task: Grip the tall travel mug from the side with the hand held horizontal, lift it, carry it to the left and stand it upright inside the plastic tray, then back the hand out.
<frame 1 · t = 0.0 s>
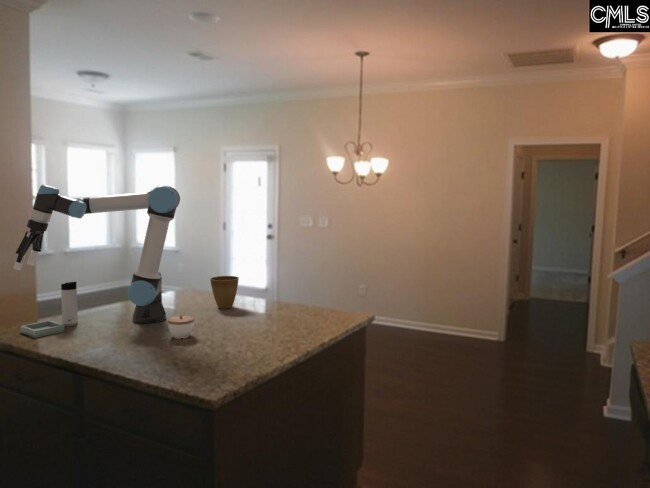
hand: (23, 267, 209), 28 cm above the table, tool tilted 20°, fingers open, 13 cm apart
lidded jar: (181, 337, 207), on the table
tray: (42, 331, 210), on the table
plant pot: (224, 307, 261), on the table
travel mug: (70, 325, 222), on the table
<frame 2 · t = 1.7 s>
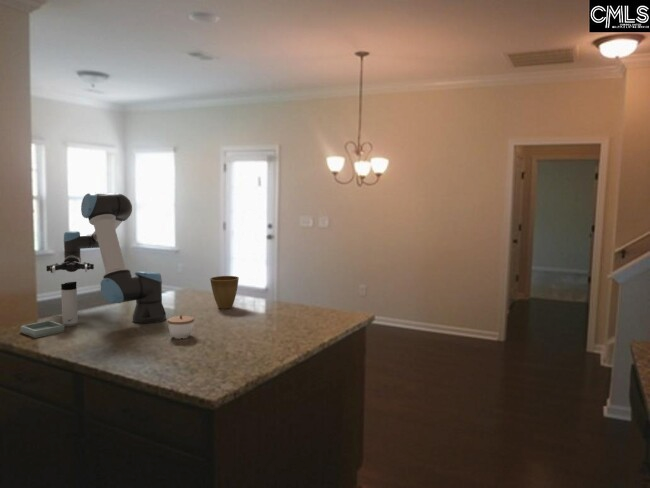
hand: (69, 269, 228), 24 cm above the table, tool horizontal, fingers open, 13 cm apart
nothing on the table moved.
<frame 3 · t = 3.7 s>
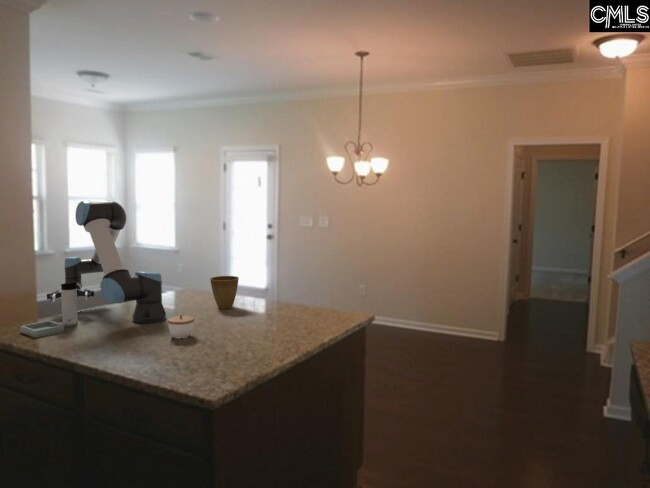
hand: (69, 298, 227), 11 cm above the table, tool horizontal, fingers open, 13 cm apart
nothing on the table moved.
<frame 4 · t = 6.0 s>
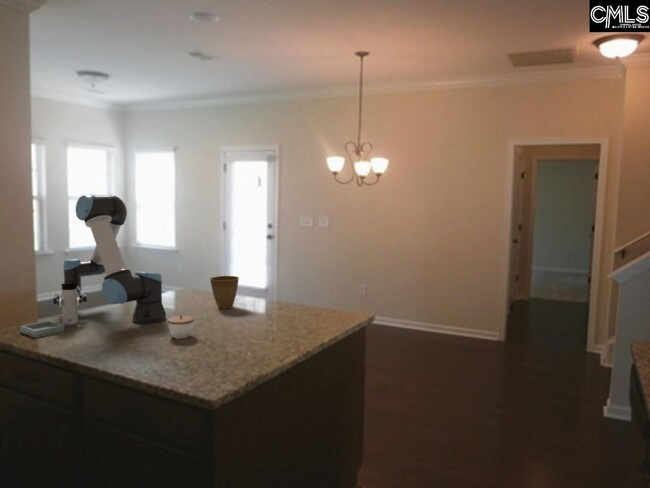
hand: (69, 303, 216), 11 cm above the table, tool horizontal, fingers closed on travel mug, 6 cm apart
travel mug: (70, 325, 222), on the table, touching gripper
everything else where it was.
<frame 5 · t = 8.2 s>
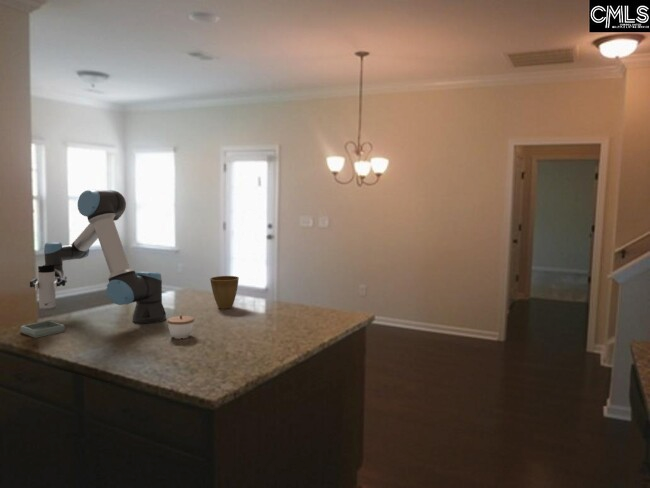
hand: (45, 286, 207), 20 cm above the table, tool horizontal, fingers closed on travel mug, 6 cm apart
travel mug: (47, 309, 213), point 9 cm above the table, touching gripper
everything else where it was.
when the fingers open (13 cm above the table, at t = 10.4 s): travel mug drops 1 cm, resting on tray.
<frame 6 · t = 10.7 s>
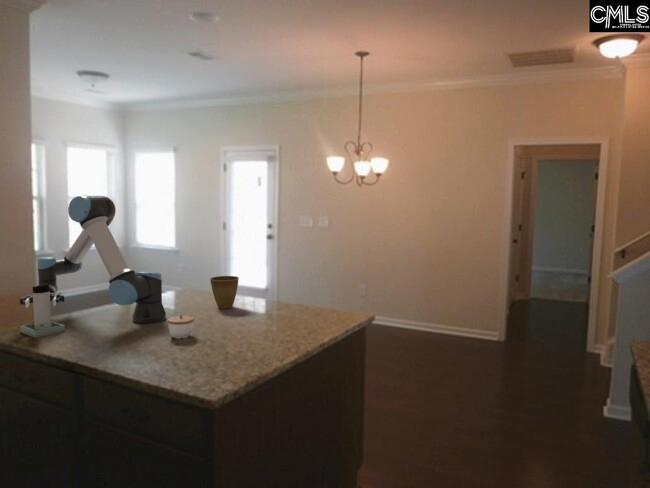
hand: (40, 303, 205), 13 cm above the table, tool horizontal, fingers open, 9 cm apart
travel mug: (43, 330, 211), point 1 cm above the table, touching tray
everything else where it was.
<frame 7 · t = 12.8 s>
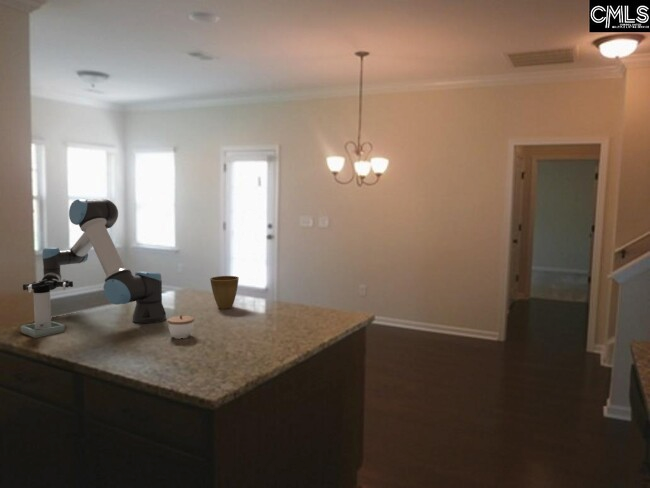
hand: (46, 288, 219), 17 cm above the table, tool horizontal, fingers open, 13 cm apart
nothing on the table moved.
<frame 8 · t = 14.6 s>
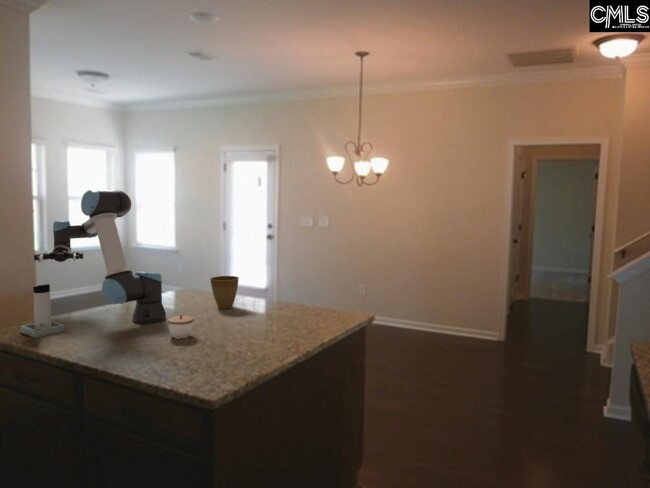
hand: (57, 258, 221), 30 cm above the table, tool horizontal, fingers open, 13 cm apart
nothing on the table moved.
at the end: travel mug inside the target area on the tray (0.3 cm from its centre), point 0.6 cm above the tray's base; travel mug tilted 0°; the gripper is holding nothing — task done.
